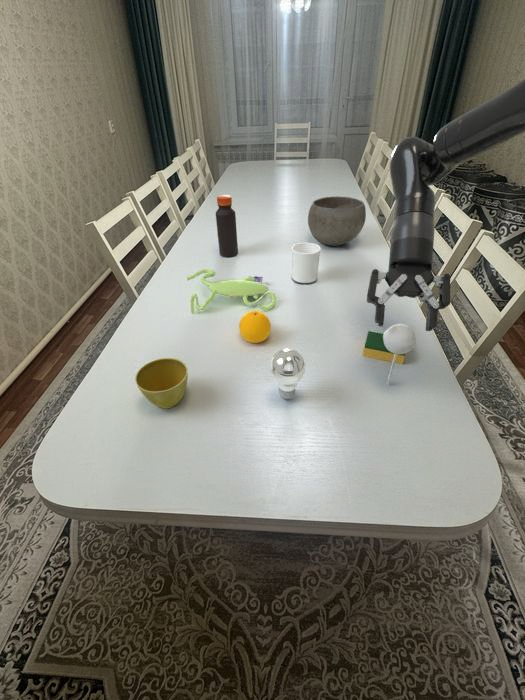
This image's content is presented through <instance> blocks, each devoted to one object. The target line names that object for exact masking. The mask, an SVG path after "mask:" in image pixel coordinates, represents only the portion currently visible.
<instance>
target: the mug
mask: <svg viewBox="0 0 525 700" xmlns="http://www.w3.org/2000/svg"><path fill="white" fill-rule="evenodd" d="M321 251H322V248H321V246H320V245H318V244H317V243H315V242H298V243H295V244H293V245H292V246H291V280H292V281H293V282H294V283H295V284H296V283H297V284H298V285H312V284H314V283H316V281H317V280H318V274H319V273H318V272H319V265H320V256H321Z"/></svg>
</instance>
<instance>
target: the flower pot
mask: <svg viewBox="0 0 525 700" xmlns="http://www.w3.org/2000/svg"><path fill="white" fill-rule="evenodd" d="M188 369H189V368H188V366H187V365H186V363H185V362H183V361H182V360H180V359H177V358H172V357H163V358H157V359H154V360H151V361H148V362H147V363H145V364H144V365H142V366H141V367H140V368H139V369H138V371H137V372H136V374H135V377H134V380H135V381H134V382H135V385H136V386H137V388H138V390H139V391H140V393H141V394H142V396H144V397H145V398H146V399H147V400H148V401H149V402H150V403H151V404H153V405H154V406H156V407H158V408H160V409H170V408H173V407H175V406H176V405H178V404H179V403H180V402H181V400H182V398H183V396H184V395H185V392H186V389H187V384H188V378H189V374H188V373H189V371H188Z"/></svg>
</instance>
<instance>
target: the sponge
mask: <svg viewBox="0 0 525 700" xmlns="http://www.w3.org/2000/svg"><path fill="white" fill-rule="evenodd" d="M383 335H384V333H381V332H376V331H371V330H368V332H367V336H366V339H365V343H364V347H363V352H362V356H363V357H366V358H371V359H376V360H381V361H386V362H390V363H392V361H393V357H394V353H392V352H390V351H389V350H388V349H387V348H386V347H385V344H384V340H383ZM406 354H407V353H405V354H397V355H396V359H395V363H394V364H400V365H403V364H404V361H405V358H406Z"/></svg>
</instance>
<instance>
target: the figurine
mask: <svg viewBox="0 0 525 700" xmlns="http://www.w3.org/2000/svg"><path fill="white" fill-rule="evenodd" d="M202 274H203V275H202ZM216 274H217V273H216V272H215V270H213V269H209V268H205V269H200V270H198V271H197V272H195V273H193V274H190V275H189V276H187V277H186V279H187V281H190V280H193V279H195V278H197V277H199V276H201V275H202V276H201V278H200V282H201V284H203V285H205V286H207V287H208V289H209V290H210V291H211V292H210V295H209V296H208V297H207V299H206V300H205V301H204V302H203V304H202V305H200V304H199V297H198V294H196V293H192V294H191V297H190V310H191V314H195V307H196V309H197V310H198V311H204V310H205V309H206V308H207V307H208V305H209V304H210V303H211V302H212V301H213V299H214V298H215V295H216V294H218V295H221V296H229V297H230V298H231V299H233V298H234V297H242V301H243V303H244V304H245V305H247V306H252V305H255V304H256V303H258V302H259V301H260V300H261V299H262V298H263V297H264V296H265V295H269V296H270V297H271V302H270V304H269V305H267V306H262V305H261V304H259V303H258V304H257V308H258V309H259V310H262V311H265V312H266V311H270V310H271V309H273V308H274V307H275V305H276V302H277V297H276V295H275V293H274V292H273V291H268V290H269V287H268V285H266V284H263V276H257V275H254V276H248V277H245V278H242V279H231V280H230V279H229V280H221V281H216V282H210V281H208V280H207V279H208V278H211V277H213V278H214V277H215V276H216ZM262 294H263V295H262ZM259 295H261V296H260V297H259ZM251 296H252V297H253V299H255V300H254V301H249V300H248V298H249V297H251ZM194 303H195V304H194ZM194 305H195V306H194Z"/></svg>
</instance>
